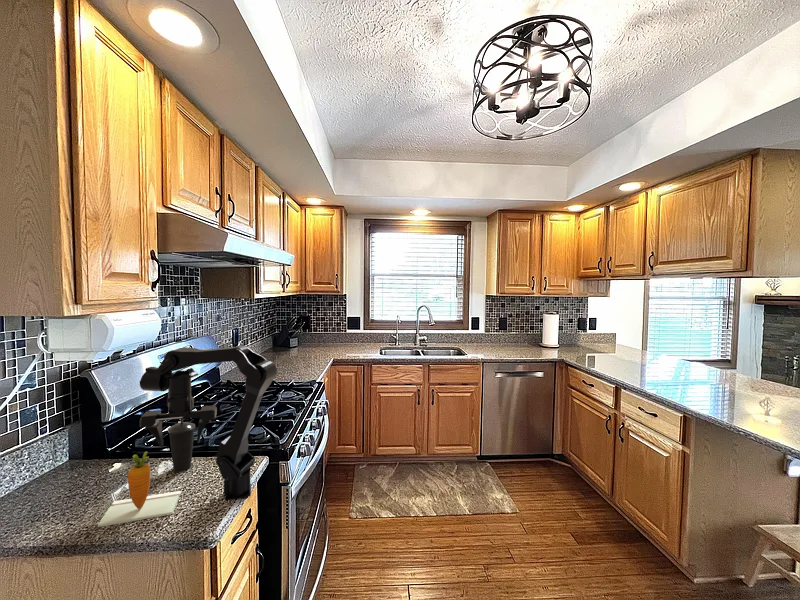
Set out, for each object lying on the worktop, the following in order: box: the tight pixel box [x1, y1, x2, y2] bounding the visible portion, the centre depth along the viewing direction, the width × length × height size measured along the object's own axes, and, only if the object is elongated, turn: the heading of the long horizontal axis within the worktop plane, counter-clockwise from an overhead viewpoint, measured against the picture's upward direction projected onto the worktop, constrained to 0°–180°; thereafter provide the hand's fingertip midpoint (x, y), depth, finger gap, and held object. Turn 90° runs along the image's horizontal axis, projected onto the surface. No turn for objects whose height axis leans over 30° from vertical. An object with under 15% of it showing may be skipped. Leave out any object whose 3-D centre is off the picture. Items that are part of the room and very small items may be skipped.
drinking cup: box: [167, 419, 196, 473], centre depth 119 cm, size 8×8×20 cm
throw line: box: [111, 490, 182, 506], centre depth 103 cm, size 16×2×1 cm, turn 110°
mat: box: [97, 495, 180, 528], centre depth 97 cm, size 16×8×1 cm, turn 110°
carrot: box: [127, 451, 151, 509], centre depth 97 cm, size 5×5×15 cm
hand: (180, 444), depth 108 cm, fingers open, 9 cm apart
